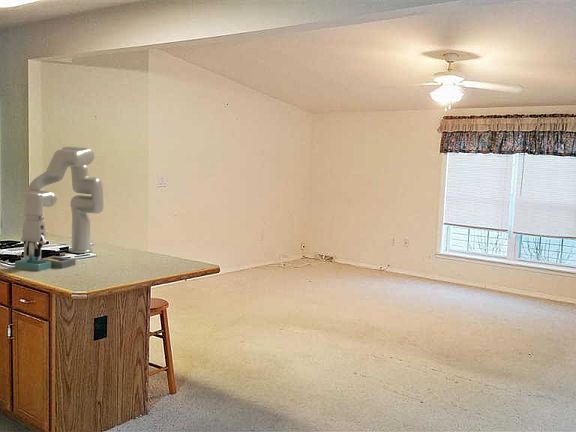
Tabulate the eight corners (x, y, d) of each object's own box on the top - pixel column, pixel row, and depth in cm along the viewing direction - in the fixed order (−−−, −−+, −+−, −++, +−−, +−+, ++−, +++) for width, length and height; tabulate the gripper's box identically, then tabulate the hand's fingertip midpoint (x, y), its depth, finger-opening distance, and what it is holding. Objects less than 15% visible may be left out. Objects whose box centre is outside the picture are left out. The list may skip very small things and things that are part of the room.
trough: (28, 264, 272) (28, 258, 272) (51, 267, 268) (51, 261, 268) (15, 267, 264) (15, 261, 264) (38, 271, 260) (38, 265, 260)
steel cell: (32, 258, 268) (33, 240, 267) (39, 259, 267) (40, 241, 266) (26, 259, 264) (27, 241, 263) (33, 260, 263) (33, 242, 262)
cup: (28, 261, 279) (29, 237, 277) (20, 258, 284) (20, 235, 282) (44, 259, 285) (44, 236, 284) (36, 256, 290) (36, 234, 289)
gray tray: (54, 261, 282) (54, 255, 281) (75, 264, 278) (75, 258, 278) (39, 265, 272) (39, 258, 272) (61, 268, 268) (61, 261, 268)
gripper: (54, 219, 264) (53, 256, 266) (25, 215, 269) (24, 252, 271) (42, 220, 257) (42, 259, 259) (13, 217, 262) (13, 255, 264)
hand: (33, 255), depth 265 cm, fingers closed on steel cell, 4 cm apart
